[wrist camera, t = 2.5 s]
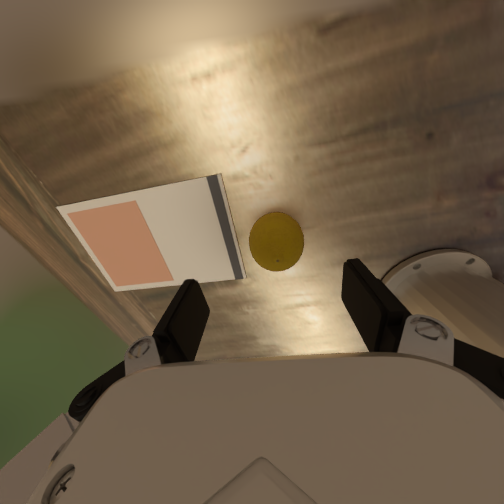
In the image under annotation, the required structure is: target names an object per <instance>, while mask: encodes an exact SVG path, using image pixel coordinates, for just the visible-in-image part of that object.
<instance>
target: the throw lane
mask: <svg viewBox="0 0 504 504" xmlns="http://www.w3.org/2000/svg"><path fill="white" fill-rule="evenodd" d="M56 208H57V209H58V211H59V212H60V213H61V215H62V216H63V218H64V219H65V221H66V222H67V223H68V225H69V226H70V228H71V229H72V231H73V232H74V233H75V235H76V236H77V238H78V239H79V241H80V242H81V243H82V245H83V246H84V248H85V249H86V251H87V252H88V254H89V255H90V256H91V258H92V259H93V261H94V262H95V264H96V265H97V266H98V268H99V269H100V271H101V272H102V274H103V275H104V276H105V278H106V279H107V281H108V282H109V284H110V285H111V286H112V288H113V289H114V291H125V290H134V289H144V288H154V287H164V286H174V285H182V283H183V282H184V280H186V279H195V280H197V281H198V283H203V282H213V281H223V280H232V279H235V280H236V279H243V278H246V273H245V269H244V265H243V261H242V257H241V253H240V249H239V244H238V240H237V236H236V232H235V228H234V224H233V220H232V216H231V212H230V208H229V204H228V200H227V196H226V192H225V188H224V184H223V179H222V175H221V174H217V175H212V176H207V177H202V178H197V179H192V180H187V181H182V182H177V183H172V184H167V185H162V186H157V187H153V188H148V189H143V190H138V191H133V192H128V193H123V194H118V195H113V196H108V197H103V198H98V199H93V200H88V201H83V202H79V203H74V204H69V205H64V206H59V207H56Z"/></svg>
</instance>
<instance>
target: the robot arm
mask: <svg viewBox="0 0 504 504" xmlns="http://www.w3.org/2000/svg"><path fill="white" fill-rule="evenodd" d="M341 297H342V301H343V303H344V305H345V307H346V309H347V311H348V312H349V314H350V316H351V318H352V320H353V322H354V324H355V326H356V328H357V329H358V331H359V333H360V335H361V337H362V339H363V341H364V343H365V344H366V346H367V348H368V350H369V352H356V353H331V354H311V355H291V356H273V357H255V358H238V359H222V360H205V361H194V359H195V356H196V353H197V350H198V347H199V344H200V341H201V338H202V335H203V332H204V329H205V326H206V323H207V320H208V317H209V313H210V310H209V307H208V304H207V302H206V300H205V297H204V295H203V292H202V290H201V288H200V285H199V283H198V281H197V280H195V279H186V280H184V282H183V283H182V285H181V287H180V288H179V290H178V292H177V293H176V295H175V296H174V298H173V300H172V301H171V303H170V305H169V306H168V308H167V310H166V311H165V313H164V315H163V316H162V318H161V319H160V321H159V323H158V324H157V326H156V328H155V329H154V331H153V332H154V333H153V335H152V336H144V337H142V338H140V339H138V340H136V341H135V342H134V343H133V344H132V345H130V347H129V348H128V349H127V351H126V353H125V357H124V361H122V362H121V363H119V364H118V365H116V366H115V367H113V368H112V369H110V370H109V371H108V372H106V373H105V374H104V375H102V376H100V377H99V378H97V379H96V380H94V381H93V382H92V383H90V384H89V385H87V386H86V387H85V388H83V389H82V391H80V392H79V394H77V396H76V397H75V398H74V399H73V401H72V403H71V405H70V407H69V410H68V412H67V413H66V414H64V413H62V414H61V415H60V416H59V417H58V418H57V419H55V420H54V421H53V422H52V423H51V424H50V425H49V426H48V427H47V428H46V429H44V430H43V431H42V432H41V433H40V434H39V435H38V436H37V437H36V438H35V439H34V440H32V441H31V442H30V443H29V444H28V445H27V446H26V447H25V448H24V449H22V450H21V451H20V452H19V453H18V454H17V455H16V456H15V457H14V458H13V459H11V460H10V461H9V462H8V463H7V464H6V465H5V466H4V467H3V468H2V469H1V470H0V504H504V284H503V283H502V282H500V281H498V280H496V279H494V278H492V272H491V269H490V266H489V265H488V264H487V263H486V261H484V260H483V259H481V258H480V257H478V256H476V255H474V254H472V253H469V252H467V251H463V250H458V249H440V250H433V251H429V252H425V253H422V254H419V255H416V256H414V257H411V258H409V259H408V260H406V261H404V262H402V263H400V264H399V265H398V266H396V267H395V268H393V269H392V270H391V271H390V272H389V273H388V274H387V275H386V276H385V277H384V279H383V280H382V281H381V280H380V279H377V278H376V277H375V276H374V275H373V274H372V273H371V272H370V271H369V270H368V268H367V267H366V266H365V265H364V264H363V263H362V262H361V261H360V259H358V258H356V259H348V260H347V262H344V265H343V279H342V294H341Z"/></svg>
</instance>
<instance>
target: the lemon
mask: <svg viewBox="0 0 504 504" xmlns="http://www.w3.org/2000/svg"><path fill="white" fill-rule="evenodd" d="M249 246H250V251H251V253H252V256H253V258H254V259H255V261H256V262H257V263H258V264H259V265H260V266H261V267H263V268H265V269H267V270H270V271H283V270H286V269H289V268H290V267H292V266H293V265H295V264H296V262H297V261H298V260H299V258H300V257H301V255H302V252H303V248H304V235H303V232H302V230H301V227H300V225H299V224H298V223H297V221H296V220H295V219H293V218H292V217H291V216H289V215H287V214H285V213H280V212H273V213H269V214H266V215H264V216H262V217H261V218H259V219H258V220H257V221H256V223H255V224H254V225H253V227H252V229H251V232H250V237H249Z"/></svg>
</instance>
